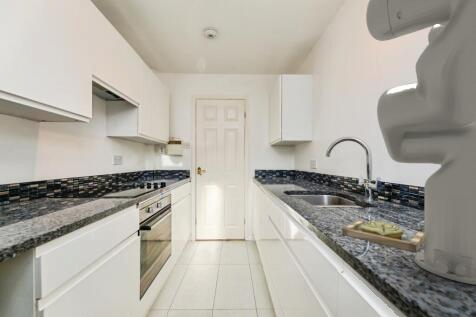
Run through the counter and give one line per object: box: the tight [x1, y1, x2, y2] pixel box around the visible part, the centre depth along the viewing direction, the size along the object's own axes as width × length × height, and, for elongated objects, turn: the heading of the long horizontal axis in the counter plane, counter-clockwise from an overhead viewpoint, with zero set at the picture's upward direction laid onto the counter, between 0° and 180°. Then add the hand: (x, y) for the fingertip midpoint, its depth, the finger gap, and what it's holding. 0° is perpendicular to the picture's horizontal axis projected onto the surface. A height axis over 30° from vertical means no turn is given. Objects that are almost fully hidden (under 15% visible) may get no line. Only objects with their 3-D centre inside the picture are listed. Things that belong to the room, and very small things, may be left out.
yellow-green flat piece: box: [359, 220, 404, 240], centre depth 69 cm, size 10×11×4 cm
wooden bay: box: [341, 219, 424, 253], centre depth 68 cm, size 16×18×2 cm
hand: (459, 137), depth 62 cm, fingers open, 6 cm apart
